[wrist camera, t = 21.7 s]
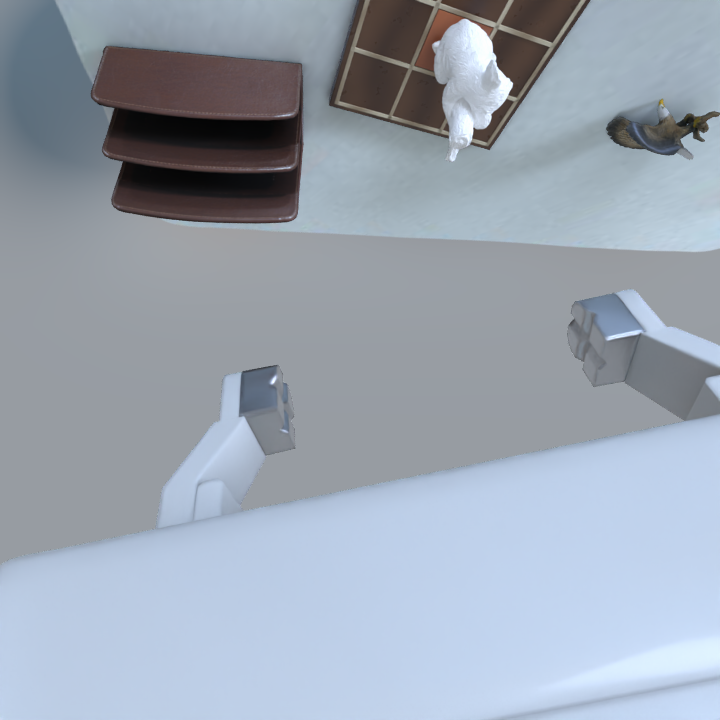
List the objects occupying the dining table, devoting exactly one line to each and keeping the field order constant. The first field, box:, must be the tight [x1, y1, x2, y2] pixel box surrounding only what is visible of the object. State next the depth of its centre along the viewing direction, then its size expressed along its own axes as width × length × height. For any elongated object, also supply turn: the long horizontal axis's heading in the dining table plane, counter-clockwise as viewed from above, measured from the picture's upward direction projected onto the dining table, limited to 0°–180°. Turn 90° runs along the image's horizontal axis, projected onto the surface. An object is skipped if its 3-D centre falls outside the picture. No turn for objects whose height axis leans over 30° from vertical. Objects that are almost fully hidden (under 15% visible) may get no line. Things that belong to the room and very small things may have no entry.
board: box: [329, 0, 590, 150], centre depth 49 cm, size 20×20×1 cm
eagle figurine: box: [606, 99, 720, 160], centre depth 56 cm, size 8×7×9 cm
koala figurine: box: [432, 19, 513, 162], centre depth 46 cm, size 8×7×12 cm
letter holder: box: [91, 46, 304, 223], centre depth 53 cm, size 10×20×14 cm, turn 85°
